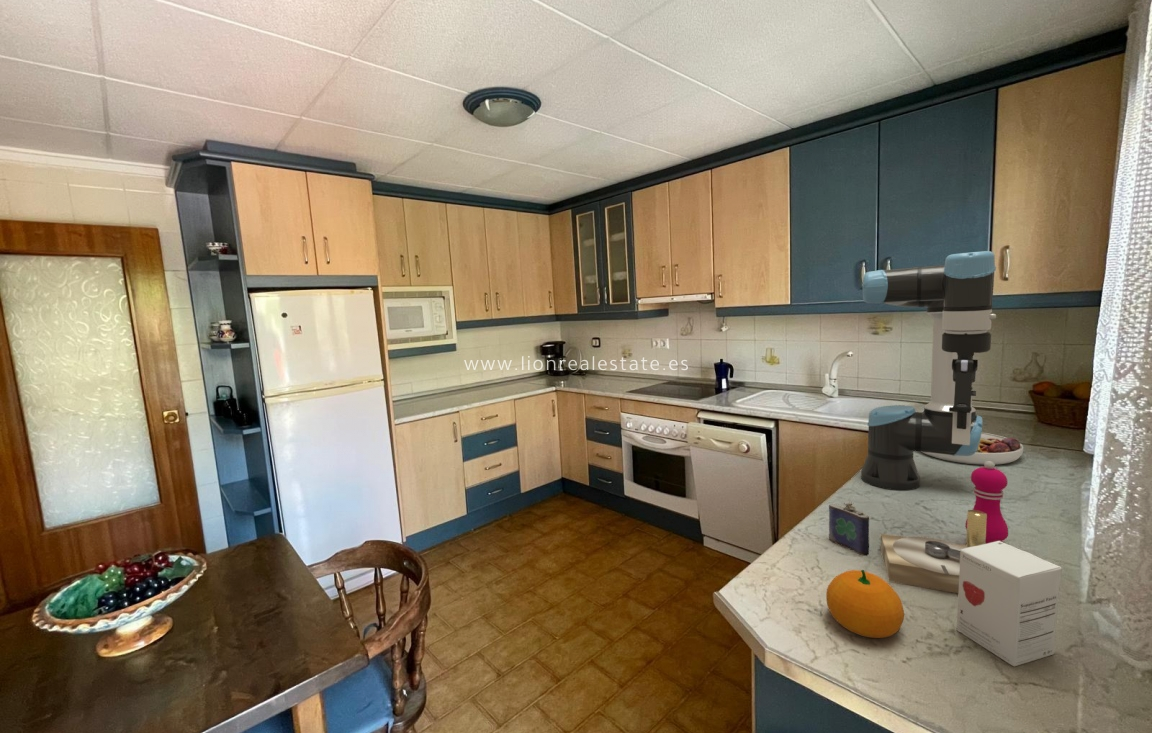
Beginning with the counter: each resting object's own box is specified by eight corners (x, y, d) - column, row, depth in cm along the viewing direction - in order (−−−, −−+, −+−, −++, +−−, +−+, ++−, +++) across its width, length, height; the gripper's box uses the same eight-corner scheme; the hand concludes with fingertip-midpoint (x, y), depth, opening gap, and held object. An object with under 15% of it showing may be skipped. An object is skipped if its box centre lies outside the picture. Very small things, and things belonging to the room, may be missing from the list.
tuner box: (879, 548, 107) (880, 530, 106) (980, 562, 99) (981, 544, 98) (890, 584, 94) (890, 564, 93) (1007, 604, 86) (1008, 582, 85)
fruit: (813, 621, 84) (813, 569, 83) (845, 595, 91) (845, 547, 90) (885, 658, 75) (886, 600, 74) (915, 626, 81) (916, 573, 80)
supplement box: (953, 629, 80) (957, 547, 78) (994, 619, 82) (998, 538, 80) (1013, 668, 71) (1019, 577, 70) (1057, 655, 73) (1063, 566, 71)
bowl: (901, 456, 166) (902, 435, 165) (922, 437, 186) (922, 418, 185) (1017, 475, 144) (1018, 450, 143) (1026, 451, 163) (1027, 429, 162)
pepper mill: (1015, 556, 100) (1020, 467, 98) (977, 554, 102) (981, 466, 99) (993, 539, 107) (997, 456, 105) (957, 538, 109) (960, 456, 106)
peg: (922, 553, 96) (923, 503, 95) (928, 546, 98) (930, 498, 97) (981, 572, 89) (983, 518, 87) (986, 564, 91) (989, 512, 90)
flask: (826, 539, 112) (826, 497, 111) (834, 536, 113) (834, 494, 112) (864, 557, 104) (865, 511, 102) (872, 553, 105) (873, 508, 104)
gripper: (992, 338, 81) (986, 455, 84) (990, 325, 100) (985, 421, 103) (938, 339, 86) (934, 449, 89) (945, 325, 104) (942, 417, 108)
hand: (961, 434), depth 96 cm, fingers open, 13 cm apart
